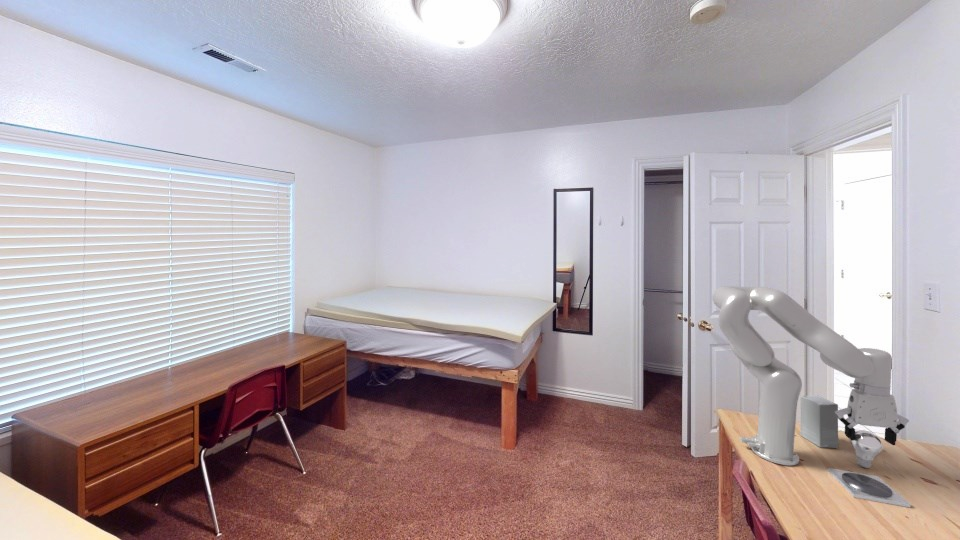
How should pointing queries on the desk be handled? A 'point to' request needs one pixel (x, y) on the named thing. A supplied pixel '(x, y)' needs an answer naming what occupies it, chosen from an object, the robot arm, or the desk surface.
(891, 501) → the duct plate
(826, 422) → the skincare box
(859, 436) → the light bulb
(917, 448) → the desk surface
